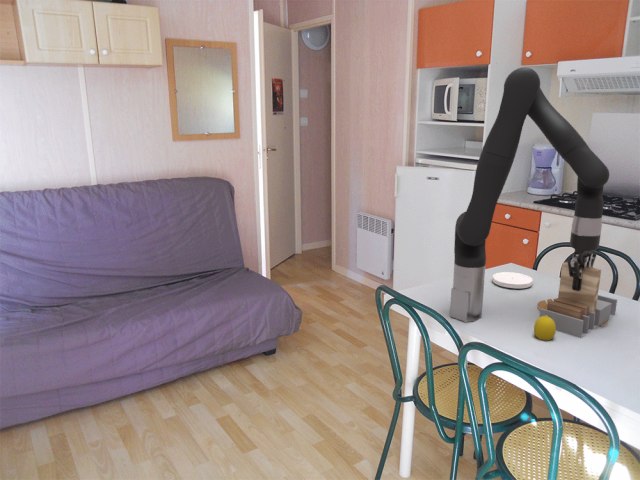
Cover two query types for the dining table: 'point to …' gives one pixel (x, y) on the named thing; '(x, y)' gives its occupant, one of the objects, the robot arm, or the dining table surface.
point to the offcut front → (565, 310)
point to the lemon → (544, 328)
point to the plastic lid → (512, 280)
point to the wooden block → (588, 287)
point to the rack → (588, 323)
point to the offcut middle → (574, 305)
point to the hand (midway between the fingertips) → (578, 288)
